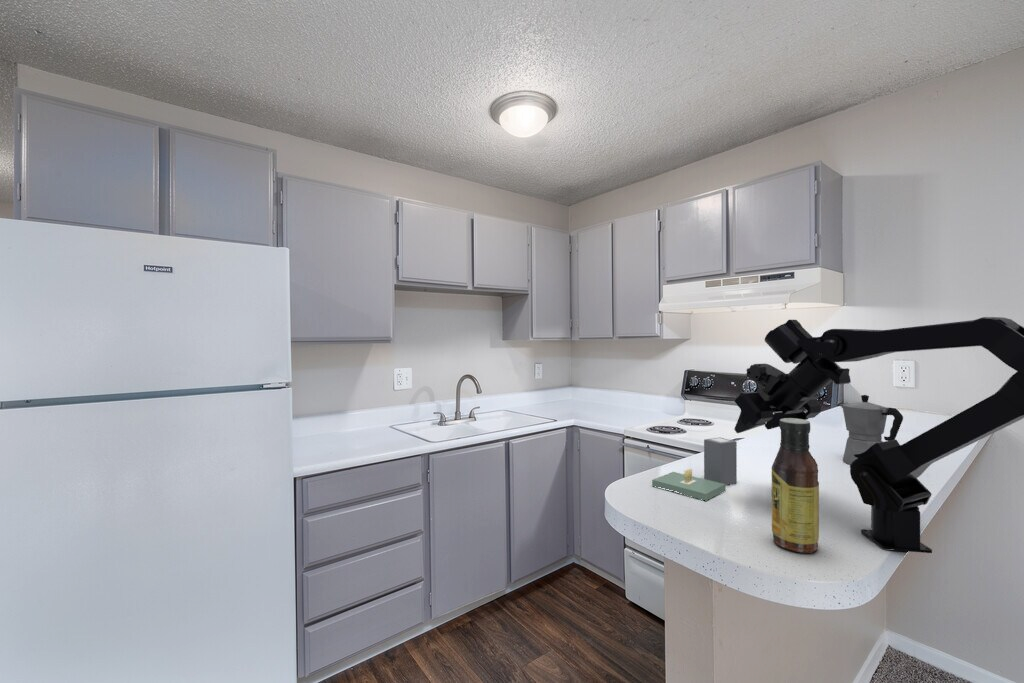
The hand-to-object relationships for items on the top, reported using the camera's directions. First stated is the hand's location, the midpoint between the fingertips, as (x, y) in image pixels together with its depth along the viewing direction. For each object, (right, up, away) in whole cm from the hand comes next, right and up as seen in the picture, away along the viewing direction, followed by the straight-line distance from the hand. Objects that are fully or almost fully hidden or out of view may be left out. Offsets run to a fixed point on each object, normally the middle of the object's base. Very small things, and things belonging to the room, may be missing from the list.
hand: (751, 429), depth 93 cm
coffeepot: (+41, -13, +20) cm, 48 cm away
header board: (-12, -13, +3) cm, 18 cm away
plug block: (-3, -13, +7) cm, 16 cm away
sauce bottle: (-6, -14, -24) cm, 28 cm away
